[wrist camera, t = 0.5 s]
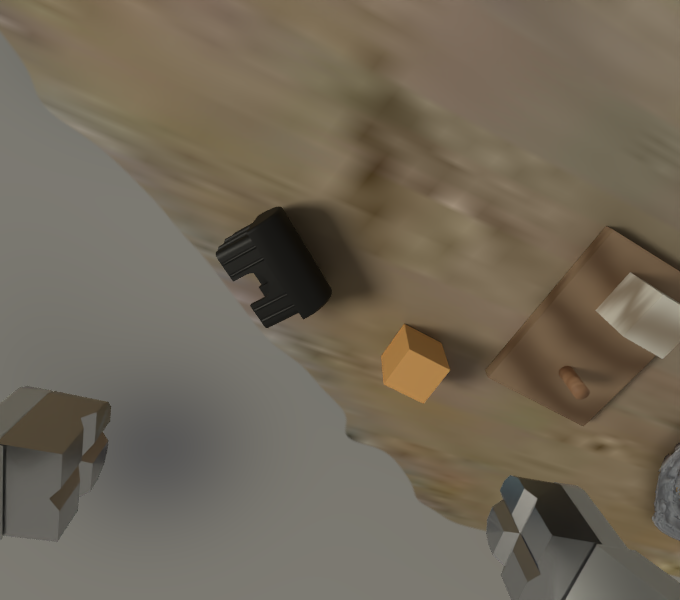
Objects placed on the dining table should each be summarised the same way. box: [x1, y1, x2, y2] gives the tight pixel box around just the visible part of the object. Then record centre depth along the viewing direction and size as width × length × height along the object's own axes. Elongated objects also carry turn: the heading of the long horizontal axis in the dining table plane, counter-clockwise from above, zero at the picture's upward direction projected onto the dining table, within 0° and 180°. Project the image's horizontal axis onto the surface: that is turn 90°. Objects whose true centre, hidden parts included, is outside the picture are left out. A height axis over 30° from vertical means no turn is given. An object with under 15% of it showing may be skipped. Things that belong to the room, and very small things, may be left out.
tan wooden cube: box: [381, 324, 450, 404], centre depth 50 cm, size 5×5×6 cm
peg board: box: [485, 226, 680, 426], centre depth 47 cm, size 20×14×7 cm
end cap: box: [216, 207, 332, 328], centre depth 45 cm, size 10×7×7 cm
